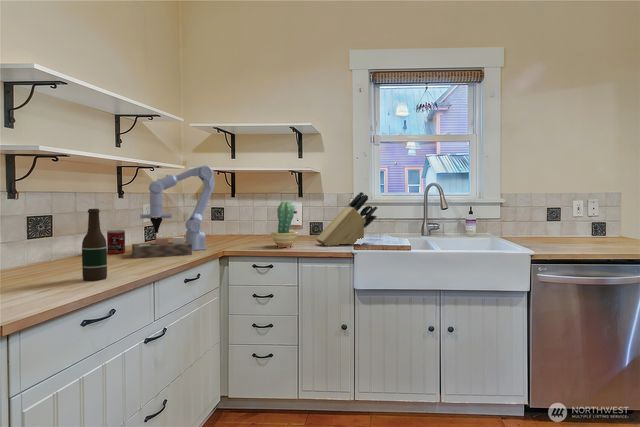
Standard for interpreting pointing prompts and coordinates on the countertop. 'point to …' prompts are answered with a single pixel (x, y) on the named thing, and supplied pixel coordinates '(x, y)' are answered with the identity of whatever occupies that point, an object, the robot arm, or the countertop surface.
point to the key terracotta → (162, 241)
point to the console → (161, 250)
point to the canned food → (116, 242)
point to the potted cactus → (284, 226)
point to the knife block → (348, 223)
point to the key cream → (178, 240)
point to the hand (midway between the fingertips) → (156, 232)
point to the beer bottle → (94, 250)
